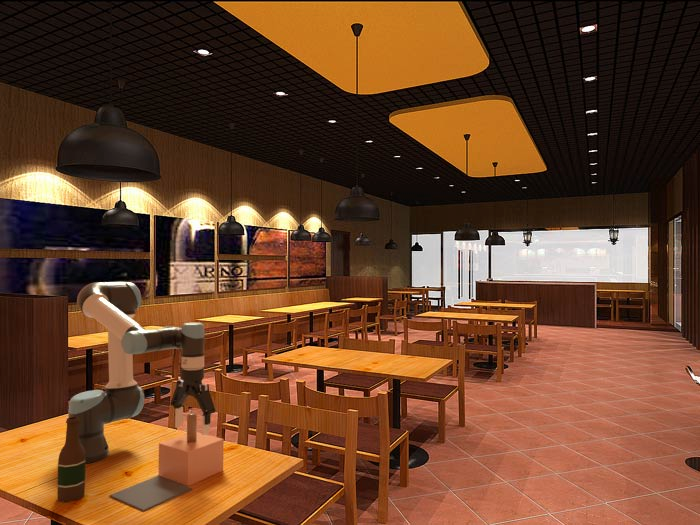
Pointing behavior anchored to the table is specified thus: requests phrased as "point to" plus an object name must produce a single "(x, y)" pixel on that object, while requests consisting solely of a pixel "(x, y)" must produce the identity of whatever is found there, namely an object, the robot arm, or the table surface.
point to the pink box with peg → (190, 455)
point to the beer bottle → (71, 465)
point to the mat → (150, 493)
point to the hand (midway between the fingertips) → (191, 430)
